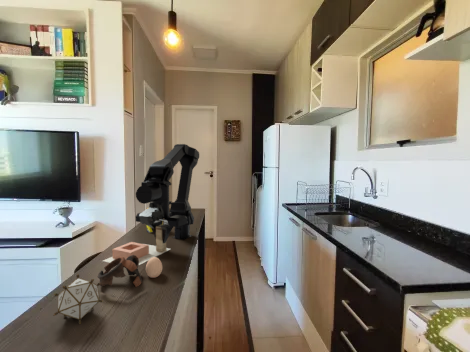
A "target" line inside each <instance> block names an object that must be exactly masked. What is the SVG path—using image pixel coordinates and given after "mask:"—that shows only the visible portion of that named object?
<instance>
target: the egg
mask: <svg viewBox="0 0 470 352" xmlns="http://www.w3.org/2000/svg"><path fill="white" fill-rule="evenodd" d="M146 262H147V263H146V265H145V273H146V275H147V276H148V277H149V278H153V279H154V278H157V277H159V276H160V275H161V273H162V271H163V263H162V261H161V260H160V258H159V257H158V256H156V257H153V258H151V259H150V260H148V261H146Z"/></svg>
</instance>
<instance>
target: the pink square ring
mask: <svg viewBox="0 0 470 352" xmlns="http://www.w3.org/2000/svg"><path fill="white" fill-rule="evenodd" d="M149 245H150V244H148V245H146V243H139V242H135V241H130V242H127V243H125V244H122V245H119V246H117V247H115V248H112V249H111V251H112V257H113V258H115V259H117V258H119V257H124V258H125V260H126V259H127V258H128V257H129V256H131V255H135V256H137V257H138V258H141V257H143V256H145V255H147V254H149Z"/></svg>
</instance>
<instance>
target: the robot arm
mask: <svg viewBox="0 0 470 352" xmlns="http://www.w3.org/2000/svg"><path fill="white" fill-rule="evenodd" d="M199 158H200V152H199V151H198V150H197V149H196V148H194V147H192V146H189V145H188V144H185V143H178V144H177V143H176V144H174V146H173V148H172V149H170V151H169V152H168V153H167V154H166V155H165V156H164V157H163V158H162V159H160V160H156V161H154V162H153V163H151V164H150V166H149V168H148V170H147V173H146V175H145V177H144V179H143V181H142V182H141V186H138V188H137V190H136V192H135V198H136V200H137V201H138V202H139V203H140V204H142V205H144V204H149V205H148V206H149V207H147V208H148V209H145V210H143V211H142V212H138V213H137V214H136V215H135V222H136V223H141V225H145V226H147V225H148V226H149V227H150V228H151V229H152V231H153V233H152V234H153V236H154V238H155V240H156V226H158V225H161V226H160V227H161V228H162V238H163V243H166V244H167V241H168V238H169V236H170V234H171V232H172V231H173V228H174V236H172V237H171V238H172V239H176V240H183V241H184V240H187V239H188V238H191V237H194V236H193V234H191V231H190V230H191V228H190V226H191V225H194V224H195V223H194V222H195V216H194V215H193V213H192V211H191V210H192V207H191V206H192V205H190V202H189V198H190V192H191V191H190V189H191V184H192V183H191V182H192V177H193V170H194V168H195V167H196V166H197V164H198V161H199ZM178 162H179V164H180V166H181V169H180V175H179V176H180V177H179V182H178V188H177V195H176V199H175V201H174V202H173V201H172V200H170V186H172V182H171V181H170V180H171V178H172V176H173V175H174V173H175V170H174V168H175V167H176V165H177V164H178Z"/></svg>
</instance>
